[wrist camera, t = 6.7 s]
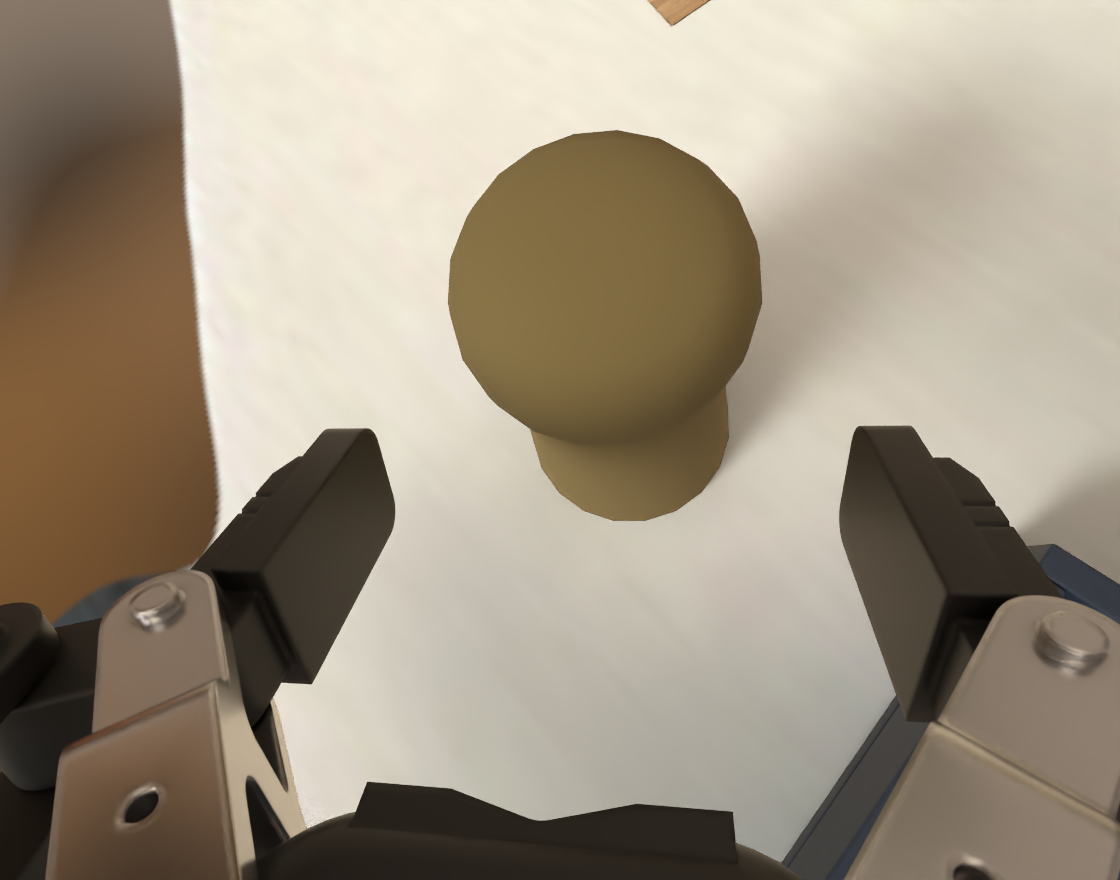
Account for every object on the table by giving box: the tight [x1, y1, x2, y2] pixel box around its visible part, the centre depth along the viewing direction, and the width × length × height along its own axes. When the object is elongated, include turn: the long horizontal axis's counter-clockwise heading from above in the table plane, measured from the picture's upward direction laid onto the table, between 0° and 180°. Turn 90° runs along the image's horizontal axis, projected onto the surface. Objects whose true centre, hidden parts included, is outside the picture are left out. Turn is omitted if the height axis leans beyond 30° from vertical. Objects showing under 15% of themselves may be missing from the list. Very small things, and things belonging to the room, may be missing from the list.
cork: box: [448, 130, 762, 521], centre depth 15 cm, size 6×6×11 cm
